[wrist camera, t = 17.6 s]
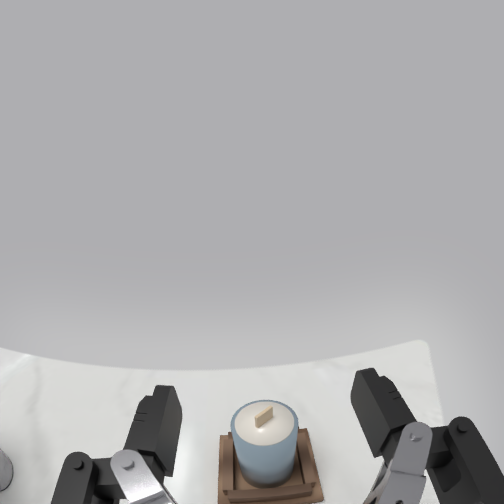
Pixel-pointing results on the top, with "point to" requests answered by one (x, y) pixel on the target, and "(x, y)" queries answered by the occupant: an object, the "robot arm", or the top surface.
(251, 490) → the tray
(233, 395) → the top surface
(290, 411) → the candle jar
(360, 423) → the robot arm
